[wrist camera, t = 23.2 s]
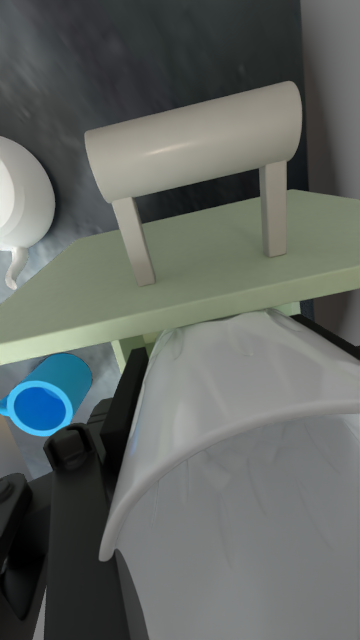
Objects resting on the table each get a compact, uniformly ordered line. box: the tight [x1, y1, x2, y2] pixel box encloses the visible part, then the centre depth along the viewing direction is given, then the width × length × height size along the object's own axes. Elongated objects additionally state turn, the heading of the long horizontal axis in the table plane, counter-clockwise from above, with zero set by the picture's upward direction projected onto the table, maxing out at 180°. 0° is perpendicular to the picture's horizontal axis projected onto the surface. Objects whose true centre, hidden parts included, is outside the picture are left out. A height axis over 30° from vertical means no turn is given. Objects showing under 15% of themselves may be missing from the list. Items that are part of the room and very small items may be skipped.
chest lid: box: [0, 81, 360, 365], centre depth 14 cm, size 16×19×6 cm
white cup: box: [99, 307, 360, 640], centre depth 10 cm, size 8×8×10 cm
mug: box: [0, 353, 92, 436], centre depth 37 cm, size 12×8×8 cm
